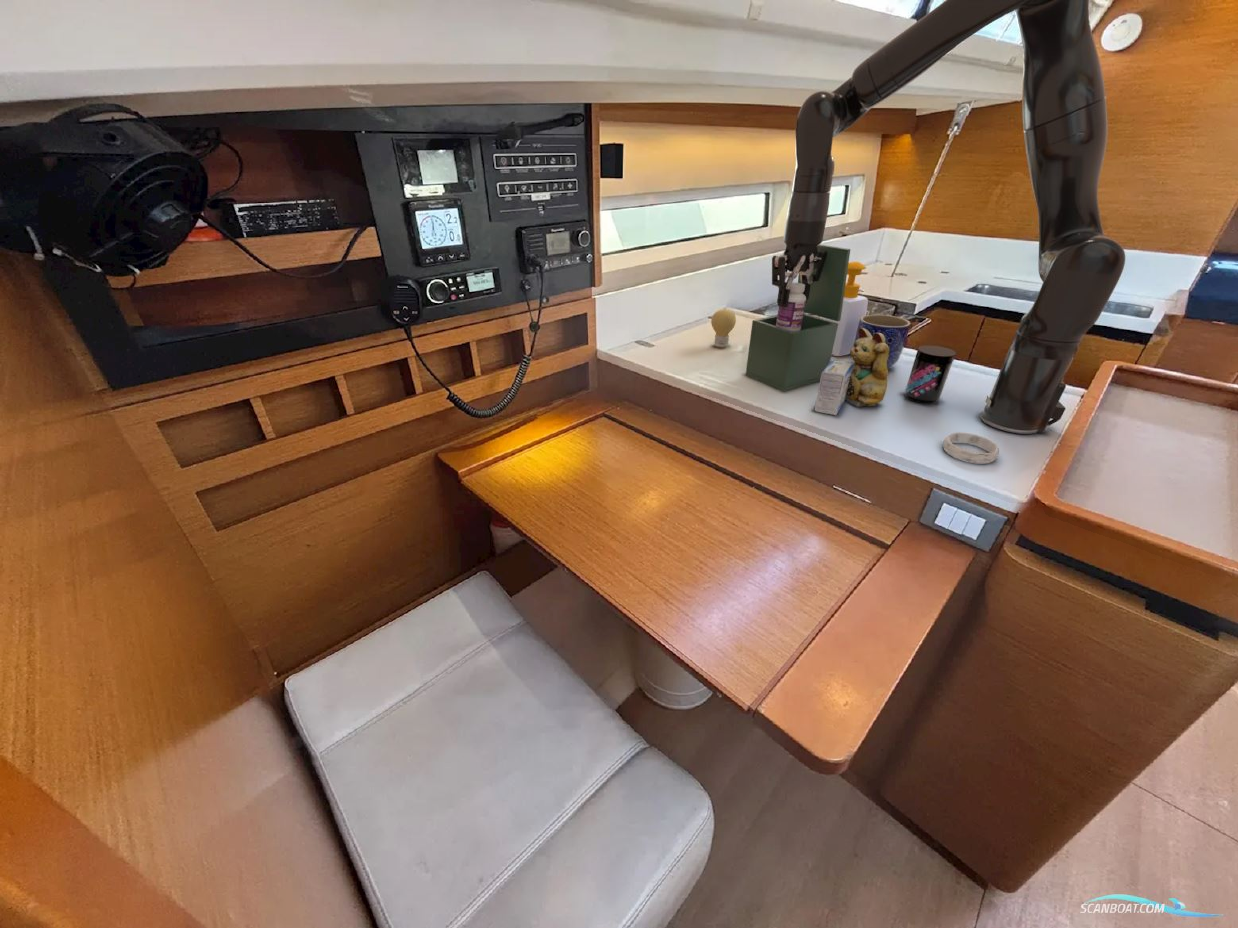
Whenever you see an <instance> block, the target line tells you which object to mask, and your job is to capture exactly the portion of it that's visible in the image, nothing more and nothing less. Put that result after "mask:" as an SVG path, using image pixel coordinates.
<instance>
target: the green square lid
mask: <svg viewBox="0 0 1238 928" xmlns="http://www.w3.org/2000/svg"><path fill="white" fill-rule="evenodd" d="M817 248H818V250H820V251H826V252H827V256H826V260H825V263H824V266H823V269H822V272H821V276H820V279H819V281H815V282H813V284H812V285H811V286H810V292H809V298H808V300H807V303H805V308H804V314H808V315H812V316H815V317H819V318H820V317H824V318H827V319H831V320H834V321H840V319H841V312H842V305H843V298H844V291H845V284H846V283H847V276H848V275H847V270H848V263H849V262H850V255H851V248H845V247H838V246H832V245H825V244H819V245H817ZM816 271H817V269H816V268H815V270H814V273H813V274H814V275H815V274H816ZM797 277H798V278H797V283H801V281H800V275H799V274H798V275H797ZM806 277H807V276H806Z"/></svg>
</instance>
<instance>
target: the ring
mask: <svg viewBox="0 0 1238 928" xmlns="http://www.w3.org/2000/svg"><path fill="white" fill-rule="evenodd" d="M955 443H957V444H966V445H970V446H971V445H972V446H975V447H978V448H981V449H982V450H985V451H987V452H975V451H972V450H967V449H964V448H961V447H959V446H957V445H956V444H955ZM942 445H943V447H942V448H943V449H944V451H945V452H946V453H947V454H948V455H949V456H951V457H952V458H955V459H957V460H960V461H963V462H967V463H970V464H979V465H982V464H983V465H986V464H990V463H992V462H994V461H996V459H997V458H998V457H999V455H1000V448H999V446H998V444H996V443H995V442H994V441H993V440H991V439H989V438H987V437H984V436H981V435H978V434H975V433H969V432H953V433H950V434H949V435H947V436H946V437H944V440H943V444H942Z"/></svg>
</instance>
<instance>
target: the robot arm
mask: <svg viewBox="0 0 1238 928" xmlns="http://www.w3.org/2000/svg"><path fill="white" fill-rule="evenodd" d="M1013 12H1015V17H1016V20H1017V26H1018V29H1019V35H1020V39H1021V44H1022V53H1023V73H1022V74H1023V75H1022V93H1021V94H1022V95H1021V96H1022V97H1021V113H1022V115H1021V116H1022V117H1021V118H1022V130H1023V139H1024V140H1023V141H1024V147H1025V155H1026V160H1027V166H1028V172H1029V177H1030V182H1031V187H1032V192H1033V197H1034V200H1035V204H1036V209H1037V216H1038V258H1037V259H1038V262H1037V263H1038V266H1037V268H1038V274H1039V278H1040V280H1041V281H1042V284H1041V287H1040V289H1039V291H1038V294H1037V296H1036V298H1035V300H1034V302H1033V305H1032V306H1031V308H1030V309H1029V310H1028V312H1027V313H1025V314H1024V315H1022V317H1021V319H1020V321H1019V324H1018V326H1017V327H1016V328H1017V329H1016V331H1015V333H1014V336H1013V338H1012V341H1011V342H1010V346H1009V349H1008V350H1007V353H1006V356H1005V358H1004V360H1003V363H1002V364H1001V368H1000V370H999V372H998V374H997V377H996V380H995V382H994V385H993V387H992V388H991V389H992V390H991V392H990V395H987V396H986V398H985V400H984V402H985V406H984V408H983V411H982V412H981V415H980V419H981V421H982V422H984V423H985V424H986V425H988V426H990V427H992V428H995V429H998V430H1000V431H1004V432H1008V433H1014V434H1020V435H1021V434H1022V435H1031V434H1036V433H1039V434H1044V432H1045V430H1046V428H1047V426H1048V427H1050V426H1051V425H1053V424H1055V423H1057V422H1059V421H1060V420H1061V419H1062V417H1063V415H1064V413H1065V410H1066V407H1065V405H1063V404H1062V402H1060V400H1061V398H1062V397H1063V394H1064V392H1065V389H1066V388H1067V384H1066V383H1065V382H1064V379H1065V377H1066V375H1067V372H1068V371H1069V368H1070V366H1071V364H1072V362H1073V361H1074V357H1075V356H1076V355H1077V352H1078V350H1079V348H1080V346H1081V344H1082V342H1083V340H1084V338H1085V336H1086V334H1087V332H1088V331H1089V330H1090V329H1091V328H1092V327H1093V326H1094V325H1095V324H1096V323H1097V321H1098V320H1099V318H1100V316H1101V315H1102V313H1103V311H1104V309H1105V307H1106V306H1107V303H1108V302H1109V300H1110V298H1111V296H1112V294H1113V292H1114V290H1115V289H1116V287H1117V285H1118V282H1119V280H1120V279H1121V277H1122V274H1123V271H1124V269H1125V265H1126V252H1125V250H1124V248H1123V246H1122V245H1121V244H1120V242H1117V241H1116V240H1115V239H1113V238H1111V237H1108V236H1106V235H1105V232H1104V228H1103V225H1102V220H1101V213H1100V206H1099V199H1098V197H1099V182H1100V177H1101V173H1102V169H1103V164H1104V161H1105V155H1106V150H1107V146H1108V145H1107V143H1108V135H1109V134H1108V131H1109V122H1108V121H1109V120H1108V109H1107V96H1106V95H1107V93H1106V85H1105V80H1104V75H1103V70H1102V64H1101V60H1100V57H1099V52H1098V49H1097V46H1096V43H1095V39H1094V36H1093V32H1092V27H1091V19H1090V0H945V1H943V2H942V3H940V4H939V5H937V6H936V7H935V8H934V9H932V10H931V11H930V12H928V13H927V14H926V15H924V16H923V17H921V18H920V19H919V20H917V21H916V22H915V23H913V24H912V25H910V26H909V27H908V28H906V29H904V31H902V32H900V34H898V35H897V36H895V37H894V38H893V39H891V40H890V41H888V42H887V43H886V44H884V45H883V46H882V47H880V48H879V49H878V50H876V51H875V52H874V53H872V54H871V55H869V56H868V57H867V58H865V59H864V60H863V61H862V62H861V63H859V64H858V65H857V66H856V67H855V68H854V70H853V72H852V75H851V77H849V78H848V79H847V80H845V82H843V83H842V84H841V85H840V86H839V87H837V88H835V89H834V90H833V91H831V92H830V91H826V90H821V91H820V90H819V91H816V92H814V93H812V94H810V95H809V96H808V97H807V98H806V99H805V101H804V102H803V103H802V105H801V107H800V109H799V111H798V115H797V119H796V124H795V171H794V175H793V176H794V177H793V181H792V190H791V195H790V199H789V201H788V206H787V207H788V208H787V213H786V221H785V227H784V233H783V234H784V235H783V242H784V244H785V249H784V251H783V254H780V255H773V256H772V257H771V285H772V286H775V287H778V291H777V299H776V301H777V302H776V303H777V306H778V307H779V306H780V307H787V306H788V300H789V294H790V289H789V288H790V287H791V284H792V283H794V280H795V279H796V278H797V277H798V275H800V281H801V283H802V284H805V290H804V292H803V293H802V294H804V295H805V296H806V303H807V300H808V298H809V292H810V286H811V285H812V284H813V282H815V281H819V279H820V276H821V272H822V269H823V266H824V263H825V260H826V256H827V252H826V251H820V250H818V248H817V245H822V243H823V242H824V241H823V240H824V235H825V230H826V225H827V218H828V215H829V214H828V212H829V207H830V195H831V191H832V190H831V189H832V183H833V178H834V174H835V173H834V172H835V160H834V158H833V156H832V148H833V139H834V138H835V137H836V136H837V137H838V135H840V134H842V133H843V132H844V131H846V130H847V129H849V128H850V127H851V126H853V124H855V123H856V122H857V121H859V120H860V119H861V118H862V117H863V116H864V115H866V114H867V113H868V112H869V111H870V110H871V109H872V108H874V107H876V106H877V105H879V104H880V103H882V102H883V101H885V100H887V99H889V97H891V96H893V95H895V94H896V93H898V92H899V91H901V90H902V89H903V88H904V87H906V86H908V85H909V84H910V83H912V82H913V81H914V80H916V79H917V78H919V77H920V76H921V75H923V74H924V73H925V72H926V71H928V70H930V68H932V67H933V66H934V65H935V64H937V63H938V62H939V61H940V60H942V59H943V58H944V57H945V56H947V55H948V54H949V53H950V52H951V51H953V50H954V49H955V48H957V47H958V46H959V45H960V44H962V43H964V42H965V41H967V40H968V39H969V38H971V37H972V36H973V35H975V34H976V33H978V32H979V31H981V30H983V29H984V28H985V27H988V26H989V25H991V24H992V23H994V22H996V21H997V20H999V19H1001V18H1003V17H1005V16H1007V15H1009V14H1010V13H1013ZM815 268H816V269H817V271H816V274H815V275H814V274H813V273H814V270H815ZM806 276H807V277H806Z"/></svg>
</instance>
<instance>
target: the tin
mask: <svg viewBox="0 0 1238 928" xmlns="http://www.w3.org/2000/svg"><path fill="white" fill-rule="evenodd" d="M777 315H778V314H776V315H771V316H767V317H761V318H757V319H752V323H751V329H750V330H751V331H750V337H749V346H748V352H747V359H746V360H747V361H746V370H745V376H747V377H749V378H752V379H754V380H756V381H759V382H761V383H763V384H765V385H768V386H770V387H772V388H774V389H777V390H779V391H781V392H787V391H790V390H794V389H797V388H800V387H804V386H807V385H811V384H813V383H818V382H820V379H821V375H822V372H823V371H824V370H825V368H826V367H827V366H828V364H829V363H830V362H831V361H832V356H833V355H832V351H833V346H834V341H835V337H836V332H837V328H838V323H836V322H832V321H829V320H825V319H822V318H820V317H819V316H815V315H812V314H808V313H805V312H804V313H803V319H802V324H801V329H800V330H799V331H795V332H793V331H790V330H787V329H783V328H780V327H777V326H776V321H777Z"/></svg>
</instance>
